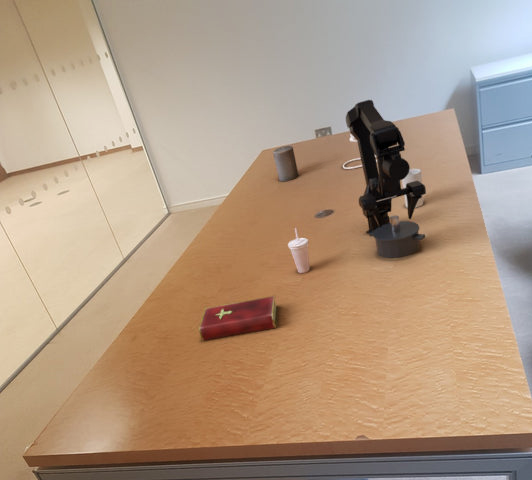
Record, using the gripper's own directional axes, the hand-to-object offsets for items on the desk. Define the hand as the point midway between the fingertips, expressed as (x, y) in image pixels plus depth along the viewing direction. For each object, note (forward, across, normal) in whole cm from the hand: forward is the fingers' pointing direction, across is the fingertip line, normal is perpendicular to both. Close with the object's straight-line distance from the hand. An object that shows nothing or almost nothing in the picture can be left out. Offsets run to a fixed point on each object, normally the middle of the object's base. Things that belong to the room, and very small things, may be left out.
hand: (395, 222), depth 169 cm
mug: (+9, -18, -36) cm, 41 cm away
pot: (+9, 0, 0) cm, 9 cm away
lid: (+3, 0, 0) cm, 3 cm away
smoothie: (+10, +29, -5) cm, 31 cm away
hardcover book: (+10, +52, +19) cm, 57 cm away
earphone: (+9, -18, -103) cm, 105 cm away
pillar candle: (+9, +17, -112) cm, 114 cm away
